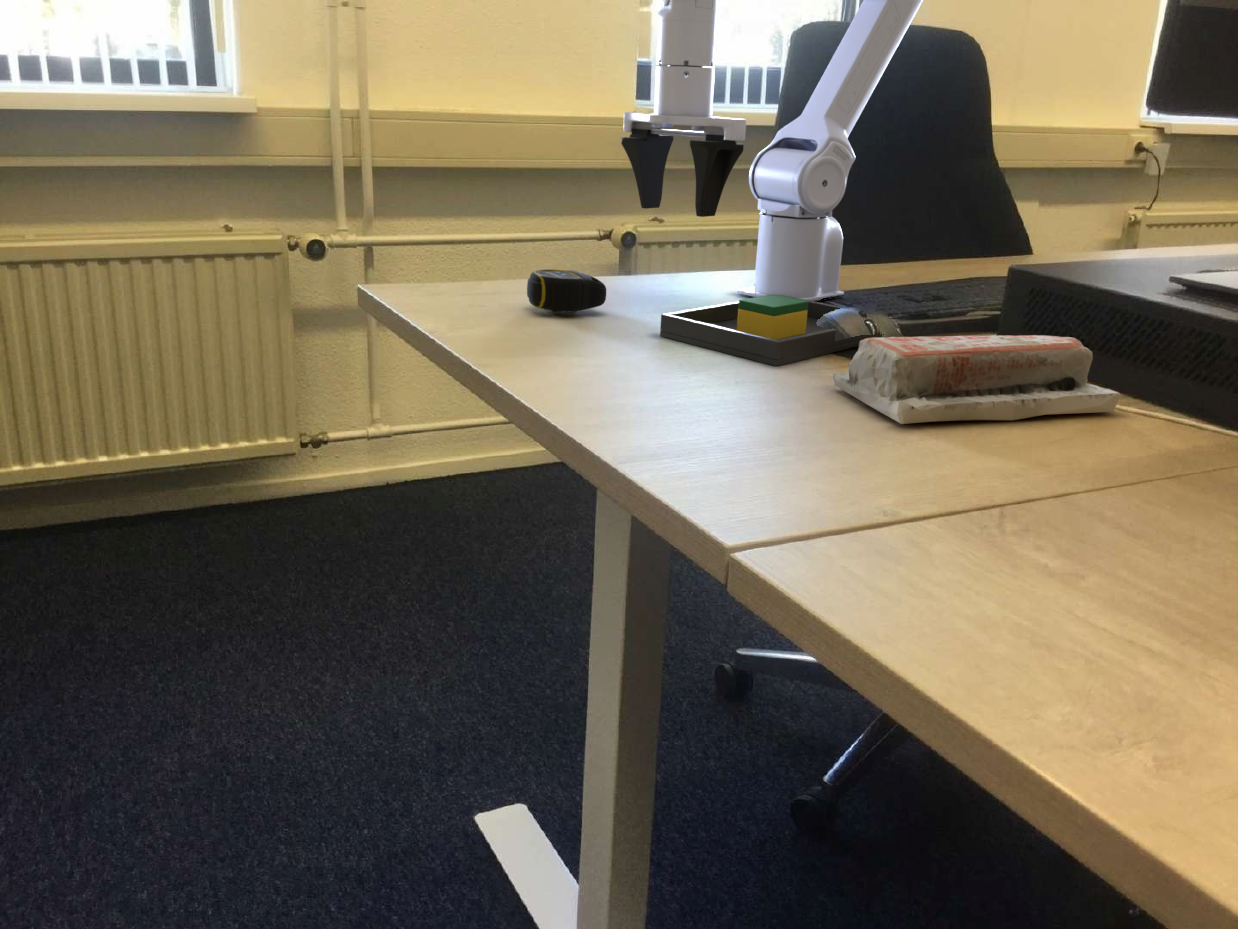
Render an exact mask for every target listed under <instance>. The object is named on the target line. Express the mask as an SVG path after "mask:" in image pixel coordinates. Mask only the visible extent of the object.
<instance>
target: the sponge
mask: <svg viewBox="0 0 1238 929" xmlns="http://www.w3.org/2000/svg"><path fill="white" fill-rule="evenodd" d="M738 301H739V309H738V321H737V331H741V332H745V333H749V334H753V335H757V336H762V337H766V338H770V339H774V340H778V339H783V338H788V337H792V336H797V335H802V334H805V331H806V321H807V311H808V301H804V300H799V299H794V298H789V297H784V296H780V295H775V294H773V295H767V296H761V297H749V298H743V299H738Z"/></svg>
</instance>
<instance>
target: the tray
mask: <svg viewBox="0 0 1238 929" xmlns="http://www.w3.org/2000/svg"><path fill="white" fill-rule="evenodd" d="M780 296H784V295H780ZM784 297H789V296H784ZM789 298H794V297H789ZM794 299H799V298H794ZM799 300H804V299H799ZM804 301H808V311H807V321H806V331H805V334H802V335H797V336H792V337H788V338H783V339H778V340H774V339H770V338H766V337H762V336H757V335H753V334H749V333H745V332H741V331H737V321H738V309H739V300H738V301H733V302H726V303H721V304H716V305H710V306H709V305H708V306H703V307H698V308H691V309H684V310H679V311H673V312H666V313H661V314H660V331H659V337H663V338H666V339H671V340H674V341H678V342H682V343H686V344H689V345H693V346H697V347H701V348H705V349H709V350H713V351H717V352H720V353H724V354H728V355H733V356H736V357H739V358H744V359H747V360H751V361H755V362H758V363H762V364H767V365H771V366H774V367H778V366H781V365H782V366H783V365H786V364H789V363H794V362H799V361H802V360H807V359H811V358H815V357H821V356H824V355H828V354H832V353H836V352H840V351H845V350H848V349H853V348H857V347H859V343H860V340H863V339H866V338H873V337H875V338H880V337H882V334H881V335H879V334H874V335H873V334H872V335H860V336H855V337H851V338H847V339H842V340H838V341H835V334H836V331H837V329H834V328H832V329H824V328H822V327H820V326H817V324H816V322H817V320H818V319H820V318H821V317H822V316H823V314H825V313H828V312H830V311H834V310H835V309H840V308H845V307H844V306H839V305H834V304H828V303H823V302H818V301H809V300H804ZM889 318H890V319H893V320H894V317H893V316H889ZM883 335H884V334H883Z"/></svg>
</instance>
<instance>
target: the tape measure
mask: <svg viewBox="0 0 1238 929" xmlns="http://www.w3.org/2000/svg"><path fill="white" fill-rule="evenodd" d="M526 296H527V298H528V302H529V303H530V304H531V305H532V306H534V307H535V308H539V309H542V310H544V311H545V312H546V313H547V312H548V313H550V314H552V315H557V314H560V313H563V312H569V313H570V312H571V313H572V312H578V311H579V312H580V311H584V310H589V309H590V310H591V309H595V308H597V307H601V306H603V305H604V303H605V302H606V301H607V300H606V299H607V286H606V285H605V283H604V282H602V281H601V280H600V279H599V278H596V277H594V276H591V275H589V274H587V273H584V272H580V271H577V270H574V269H568V270H566V269H565V270H564V269H555V268H553V269H539V270H538V269H537V270H533V271H532V272H531V273H530V275H529V278H528V279H527V285H526Z"/></svg>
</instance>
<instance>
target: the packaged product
mask: <svg viewBox="0 0 1238 929" xmlns="http://www.w3.org/2000/svg"><path fill="white" fill-rule="evenodd" d="M1093 358H1094V357H1093V351H1092V350H1090V349H1089V348H1088V347H1086V346H1084V345H1083V343H1082V342H1081V340H1079V339H1077V338H1076V337H1070V336H1058V335H1046V334H1045V335H1044V334H1043V335H1037V334H1032V335H1021V334H1020V335H1006V334H1005V335H1001V334H1000V335H970V334H969V335H951V336H950V335H944V336H943V335H942V336H922V335H921V336H891V337H880V338H875V337H873V338H866V339H863V340H860V343H859V346H858V349H857V351H856V352H855V354H854V355H853V357H852V359H851V361H849V363H848V372H845V373H843V372H841V373H839V372H837V373H835V372H834V373H833V374H832V381H833V384H834V386H835V387H836V388H838V389H840V390H842V391H844V392H845V393H847V394H849V395H850V396H852V397H854V398H855V399H857V400H859V401H860V402H862V403H864V404H865V405H867V406H869V407H870V408H872V409H874V410H876V411H877V412H879V413H881V414H883V415H885V416H886V417H888V418H890V419H892V420H894V421H895V422H897V423H899V424H900V425H904V424H917V423H930V422H931V423H932V422H958V421H959V422H960V421H1015V420H1016V421H1017V420H1022V419H1027V418H1033V417H1039V416H1044V415H1065V414H1067V415H1069V414H1090V413H1091V414H1092V413H1113V412H1115V410H1116V407H1117V405H1118V402H1119V400H1120V397H1121V395H1122V394H1121V393H1120V392H1118V391H1115V390H1112V389H1110V388H1105V387H1101V386H1099V385H1095V384H1091V383H1087V382H1088V380H1089V379H1088V376H1089V373H1090V370H1091V365H1092V363H1093Z"/></svg>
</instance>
